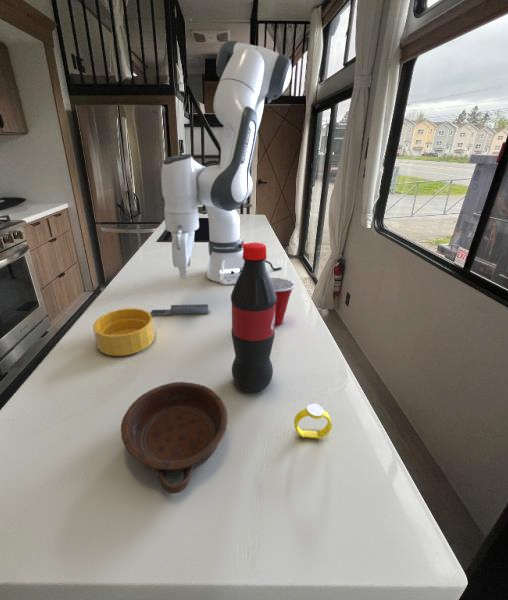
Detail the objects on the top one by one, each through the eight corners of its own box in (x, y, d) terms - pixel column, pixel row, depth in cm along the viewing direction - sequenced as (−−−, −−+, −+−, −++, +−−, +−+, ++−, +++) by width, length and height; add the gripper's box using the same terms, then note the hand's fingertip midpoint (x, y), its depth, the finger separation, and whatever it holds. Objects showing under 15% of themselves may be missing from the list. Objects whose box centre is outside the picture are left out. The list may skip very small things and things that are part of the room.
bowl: (159, 326, 90) (156, 307, 88) (148, 357, 77) (145, 335, 75) (108, 327, 90) (104, 308, 88) (89, 358, 77) (84, 337, 75)
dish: (111, 507, 45) (105, 484, 43) (136, 397, 65) (132, 377, 63) (235, 495, 46) (235, 472, 44) (222, 390, 66) (222, 371, 64)
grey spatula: (208, 310, 98) (208, 303, 97) (208, 314, 96) (207, 307, 95) (152, 311, 98) (151, 304, 97) (150, 315, 96) (149, 308, 95)
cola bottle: (275, 374, 71) (283, 239, 57) (267, 400, 63) (274, 253, 50) (238, 366, 73) (238, 236, 60) (226, 391, 66) (223, 249, 53)
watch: (294, 441, 55) (297, 415, 52) (292, 428, 57) (294, 402, 54) (330, 442, 54) (335, 416, 52) (326, 429, 57) (331, 403, 54)
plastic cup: (296, 316, 94) (299, 277, 89) (286, 334, 85) (289, 292, 80) (260, 309, 98) (261, 272, 93) (247, 326, 89) (248, 286, 84)
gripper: (190, 231, 76) (193, 285, 82) (196, 214, 94) (199, 259, 100) (163, 232, 76) (168, 286, 82) (175, 214, 94) (178, 260, 100)
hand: (185, 271), depth 91 cm, fingers open, 8 cm apart
